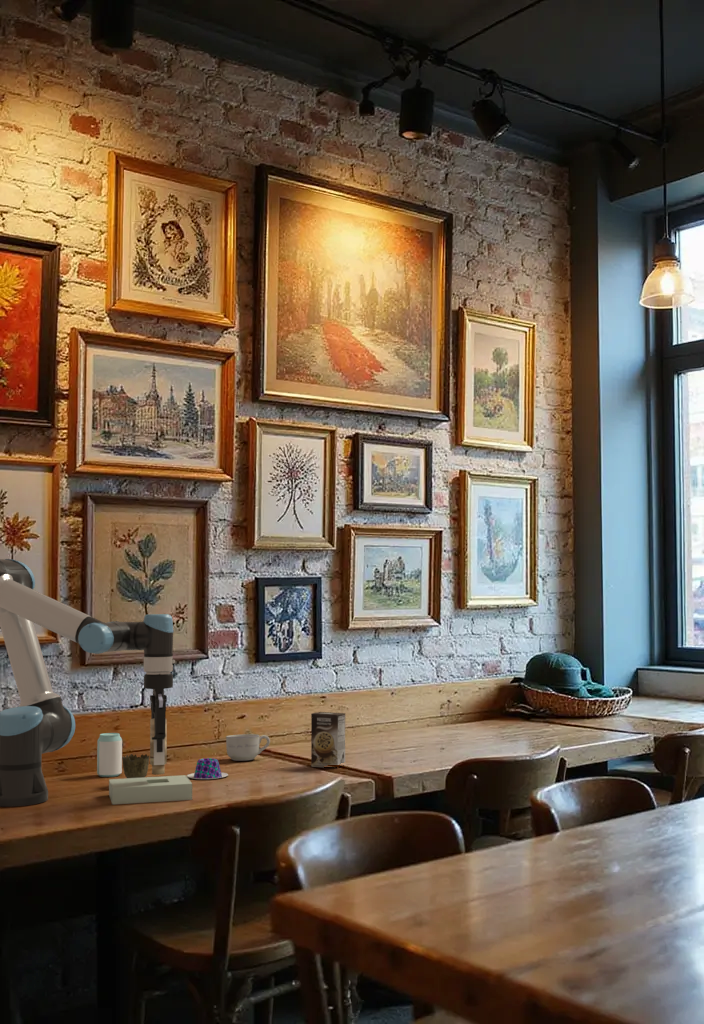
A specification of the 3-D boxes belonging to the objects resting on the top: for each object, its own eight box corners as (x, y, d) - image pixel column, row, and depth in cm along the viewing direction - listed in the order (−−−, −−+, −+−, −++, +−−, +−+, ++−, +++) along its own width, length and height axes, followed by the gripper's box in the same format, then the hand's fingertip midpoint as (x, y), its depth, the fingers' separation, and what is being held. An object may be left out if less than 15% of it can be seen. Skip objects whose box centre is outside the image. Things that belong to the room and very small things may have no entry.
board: (112, 804, 266) (112, 788, 267) (108, 794, 280) (109, 779, 280) (192, 799, 272) (192, 783, 272) (185, 790, 285) (185, 775, 286)
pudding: (237, 777, 308) (237, 758, 308) (206, 782, 298) (206, 763, 299) (208, 773, 315) (208, 755, 316) (177, 778, 306) (178, 760, 306)
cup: (152, 782, 298) (152, 753, 298) (144, 787, 290) (145, 757, 291) (126, 782, 298) (126, 753, 299) (118, 787, 291) (118, 757, 292)
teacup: (223, 762, 333) (223, 736, 334) (228, 757, 344) (228, 732, 345) (267, 762, 333) (267, 736, 333) (271, 757, 344) (271, 732, 344)
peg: (150, 775, 274) (150, 720, 275) (148, 772, 278) (149, 718, 279) (167, 774, 275) (167, 719, 276) (165, 771, 279) (165, 717, 281)
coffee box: (310, 767, 323) (310, 713, 324) (319, 764, 329) (318, 711, 330) (337, 768, 319) (337, 714, 321) (346, 765, 325) (345, 712, 327)
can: (116, 772, 316) (117, 731, 317) (125, 775, 310) (125, 734, 311) (93, 775, 312) (94, 733, 313) (101, 778, 306) (102, 736, 307)
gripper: (176, 674, 272) (176, 767, 270) (169, 670, 288) (168, 757, 286) (147, 675, 270) (146, 769, 268) (141, 671, 286) (140, 759, 284)
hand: (158, 763), depth 277 cm, fingers closed on peg, 4 cm apart
